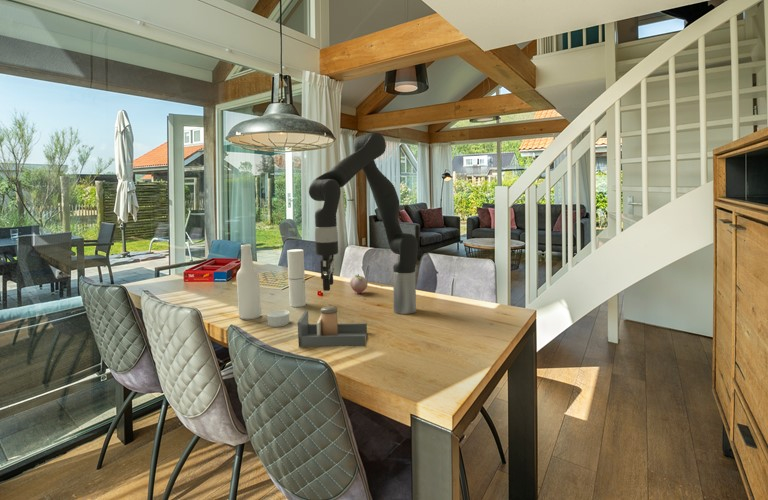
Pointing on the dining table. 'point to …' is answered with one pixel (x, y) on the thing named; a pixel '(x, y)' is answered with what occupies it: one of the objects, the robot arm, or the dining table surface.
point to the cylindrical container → (296, 277)
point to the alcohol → (248, 286)
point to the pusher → (319, 327)
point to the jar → (329, 320)
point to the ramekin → (278, 318)
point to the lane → (346, 335)
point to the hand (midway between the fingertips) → (328, 287)
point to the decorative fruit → (358, 283)
